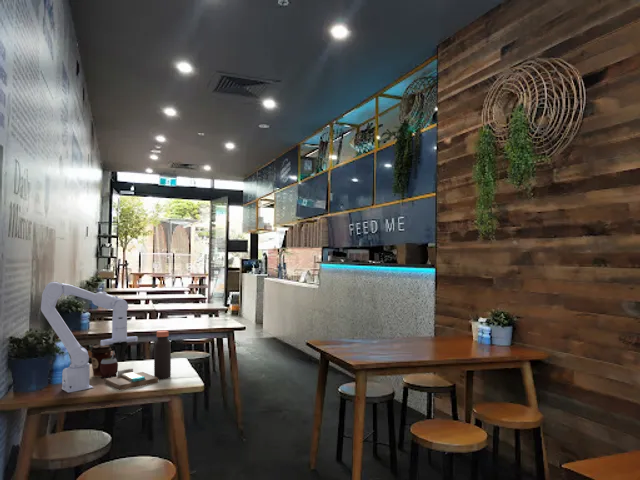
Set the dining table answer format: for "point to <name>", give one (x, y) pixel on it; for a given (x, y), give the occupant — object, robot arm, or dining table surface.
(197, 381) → the dining table surface
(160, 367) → the bottle
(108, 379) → the base plate
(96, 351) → the dark brown jar
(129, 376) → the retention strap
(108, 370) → the mate gourd
